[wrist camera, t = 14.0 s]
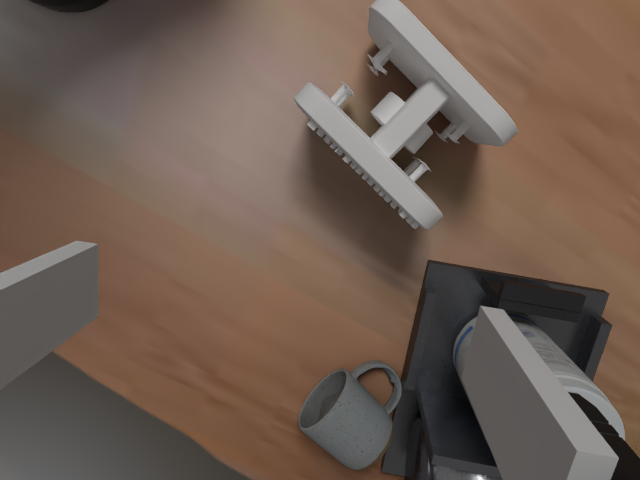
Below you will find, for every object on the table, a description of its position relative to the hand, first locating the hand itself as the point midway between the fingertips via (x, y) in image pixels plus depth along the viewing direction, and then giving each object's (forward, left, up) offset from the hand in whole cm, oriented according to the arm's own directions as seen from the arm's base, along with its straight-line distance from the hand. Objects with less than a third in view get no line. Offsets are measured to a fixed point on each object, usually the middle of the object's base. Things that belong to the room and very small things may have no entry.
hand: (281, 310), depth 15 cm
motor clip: (+18, +20, -31) cm, 41 cm away
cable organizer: (-8, +5, -31) cm, 32 cm away
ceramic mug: (+22, +6, -31) cm, 39 cm away
